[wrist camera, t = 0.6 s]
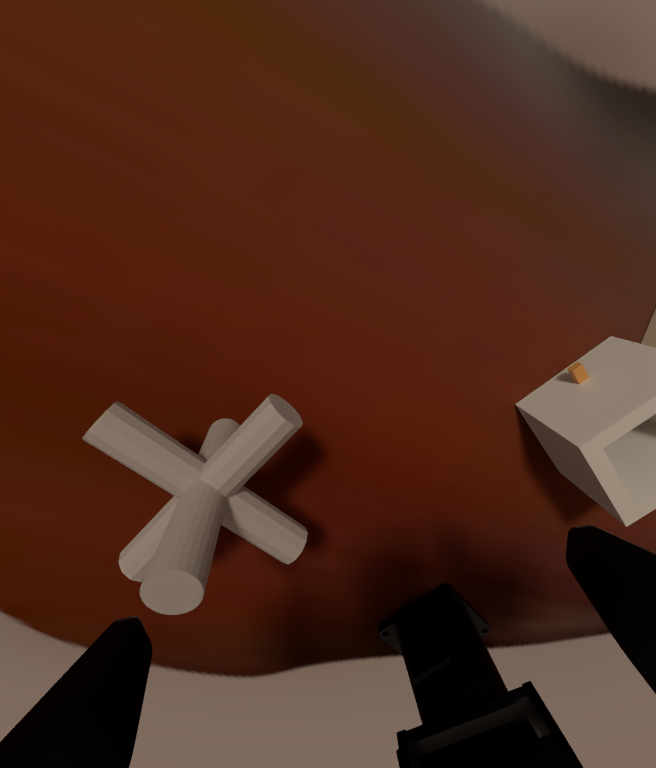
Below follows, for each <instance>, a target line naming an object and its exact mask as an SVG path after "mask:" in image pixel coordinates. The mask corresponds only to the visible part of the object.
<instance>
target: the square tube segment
mask: <svg viewBox="0 0 656 768" xmlns="http://www.w3.org/2000/svg"><path fill="white" fill-rule="evenodd" d="M515 405H516V406H517V408H518V409H519V411H520V413H521V414H522V416H523V417H524V419H525V420H526V422H527V423H528V425H529V426H530V428H531V429H532V431H533V433H534V434H535V436H536V437H537V439H538V440H539V442H540V443H541V445H542V446H543V448H544V449H545V451H546V453H547V454H548V456H549V457H550V459H551V460H552V462H553V463H554V465H555V466H556V468H557V469H558V471H559V472H560V473H561V474H562V475H563V476H565V477H566V478H567V479H568V480H570V481H571V482H572V483H573V484H574V485H576V486H577V487H578V488H579V489H581V490H582V491H583V492H584V493H586V494H587V495H588V496H589V497H590V498H592V499H593V500H594V501H595V502H597V503H598V504H599V505H600V506H601V507H603V508H604V509H605V510H606V511H608V512H609V513H610V514H611V515H612V516H614V517H615V518H616V519H617V520H619V521H620V522H621V523H622V524H623V525H625V526H626V527H627V526H629V525H630V524H632V523H633V522H635V521H637V520H638V519H640V518H641V517H643V516H645V515H646V514H648V513H649V512H651V511H653V510H654V509H656V348H654V347H650V346H646V345H642V344H639V343H635V342H631V341H627V340H624V339H620V338H616V337H612V336H610V337H609V338H608V339H606V340H605V341H603V342H602V343H601V344H599V345H598V346H596V347H595V348H594V349H592V350H591V351H589V352H588V353H587V354H585V355H584V356H582V357H581V358H580V359H578V360H577V361H575V362H574V363H573V364H571V365H570V366H568V367H567V368H566V369H564V370H563V371H561V372H560V373H559V374H557V375H556V376H554V377H553V378H552V379H550V380H549V381H547V382H546V383H545V384H543V385H542V386H540V387H539V388H537V389H536V390H535V391H533V392H532V393H530V394H529V395H528V396H526V397H525V398H523V399H522V400H521V401H519V402H518V403H516V404H515Z"/></svg>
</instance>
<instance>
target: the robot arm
mask: <svg viewBox="0 0 656 768" xmlns="http://www.w3.org/2000/svg"><path fill="white" fill-rule="evenodd" d="M566 561H567V564H568V567H569V569H570V571H571V572H572V574H573V575H574V577H575V578H576V580H577V582H578V583H579V585H580V586H581V588H582V589H583V591H584V592H585V594H586V595H587V597H588V599H589V600H590V602H591V603H592V605H593V606H594V608H595V609H596V611H597V612H598V614H599V616H600V617H601V619H602V620H603V622H604V623H605V625H606V626H607V628H608V629H609V631H610V633H611V634H612V636H613V637H614V639H615V640H616V641H617V643H618V644H619V646H620V647H621V649H622V650H623V651H624V653H625V654H626V655H627V657H628V658H629V659H630V661H631V662H632V664H633V665H634V666H635V667H636V669H637V670H638V671H639V673H640V674H641V675H642V676H643V678H644V679H645V681H646V682H647V683H648V684H649V686H650V687H651V688H652V690H653V691H654V692H655V694H656V554H655V553H653V552H650V551H648V550H646V549H644V548H642V547H639V546H637V545H635V544H633V543H631V542H628V541H626V540H624V539H622V538H619V537H617V536H615V535H613V534H611V533H608V532H606V531H604V530H602V529H600V528H597V527H595V526H592V525H583V526H578V527H573V528H571V529H570V530H569V531H568V538H567V549H566ZM490 631H491V629H490V627H489V625H488V623H487V622H486V621H485V620H484V619H483V618H482V617H481V616H480V615H479V614H478V613H477V612H476V610H475V609H474V608H473V607H472V606H471V605H470V604H469V603H468V602H467V601H466V600H465V599H464V598H463V597H462V596H461V595H460V594H459V593H458V592H457V591H456V590H455V589H454V588H453V587H452V586H451V585H450V584H444V585H441V586H440V587H438V588H437V589H435V590H434V591H432V592H431V593H429V594H428V595H426V596H425V597H423V598H422V599H420V600H418V601H417V602H415V603H414V604H412V605H411V606H409V607H408V608H406V609H405V610H403V611H402V612H400V613H398V614H397V615H395V616H394V617H392V618H391V619H389V620H388V621H386V622H385V623H383V624H382V625H380V626H379V627H378V633H379V636H380V638H382V639H383V640H384V641H385V642H386V643H388V644H389V645H390V646H391V647H392V648H394V649H395V650H396V651H397V652H399V653H400V654H401V655H402V656H403V657H404V661H405V664H406V668H407V671H408V675H409V678H410V682H411V686H412V689H413V693H414V696H415V700H416V703H417V707H418V710H419V714H420V717H421V720H422V724H423V725H421V726H418V727H416V728H413V729H410V730H408V731H406V730H402V731H399V732H397V739H398V746H399V749H398V750H397V751H396V753H397V758H398V762H399V767H400V768H583V766H582V765H581V763H580V761H579V760H578V758H577V756H576V755H575V753H574V751H573V750H572V748H571V746H570V745H569V743H568V741H567V740H566V738H565V737H564V735H563V733H562V732H561V730H560V728H559V727H558V725H557V724H556V722H555V720H554V719H553V717H552V715H551V714H550V712H549V710H548V709H547V707H546V706H545V704H544V702H543V701H542V699H541V697H540V696H539V694H538V692H537V691H536V689H535V688H534V686H533V684H532V683H531V681H529V682H526V683H524V684H522V687H519V688H516V689H514V690H511V691H509V692H508V690H507V688H506V686H505V684H504V682H503V680H502V678H501V676H500V674H499V672H498V670H497V668H496V666H495V664H494V662H493V660H492V658H491V656H490V654H489V652H488V650H487V648H486V646H485V644H484V642H483V640H482V637H484V636H485V635H487V634H488V633H490ZM151 658H152V644H151V641H150V639H149V637H148V635H147V633H146V630H145V628H144V626H143V624H142V622H141V620H140V618H138V617H137V616H132V617H128V618H123V619H118V620H116V621H115V622H113V623H112V624H111V625H110V626H109V627H108V628H107V629H106V630H105V631H104V632H103V633H102V634H101V636H100V637H99V638H98V639H97V640H96V641H95V642H94V643H93V644H92V645H91V646H90V647H89V648H88V649H87V650H86V651H85V653H84V654H83V655H82V656H81V657H80V658H79V659H78V660H77V661H76V662H75V663H74V664H73V665H72V666H71V667H70V668H69V670H68V671H67V672H66V673H65V674H64V675H63V676H62V677H61V678H60V679H59V680H58V681H57V682H56V683H55V684H54V685H53V687H52V688H51V689H50V690H49V691H48V692H47V693H46V694H45V695H44V696H43V697H42V698H41V699H40V700H39V702H38V703H37V704H36V705H35V706H34V707H33V708H32V709H31V710H30V711H29V712H28V713H27V714H26V715H25V716H24V717H23V718H22V720H21V721H20V722H19V723H18V724H17V725H16V726H15V727H14V728H13V729H12V730H11V731H10V732H9V733H8V734H7V736H5V738H4V739H3V740H2V741H1V742H0V768H129V765H130V761H131V757H132V754H133V749H134V744H135V740H136V734H137V730H138V725H139V720H140V715H141V709H142V704H143V699H144V694H145V689H146V683H147V678H148V673H149V668H150V663H151Z"/></svg>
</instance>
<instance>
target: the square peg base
mask: <svg viewBox="0 0 656 768" xmlns="http://www.w3.org/2000/svg"><path fill="white" fill-rule="evenodd" d="M641 344H642V345H646V346H650V347H654V348H656V308H655V311H654V313H653V315H652V318H651V320H650V323H649V325H648V328H647V330H646V332H645V335H644V337H643V340H642V342H641Z"/></svg>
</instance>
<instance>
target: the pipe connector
mask: <svg viewBox="0 0 656 768" xmlns="http://www.w3.org/2000/svg"><path fill="white" fill-rule="evenodd" d="M302 424H303V423H302V420H301V417H300V416H299V414H298V413H297V412H296V411H295V409H294V408H293V407H292V406H291V405H290V404H289V403H288V402H286V401H285V400H284V399H282V398H281V397H279V396H277V395H274V394H271V395H269V396H268V397H267V398H266V399H265V400H264V402H263V403H262V404H261V405H260V406H259V407H258V408H257V409H256V410H255V411H254V412H253V413H252V414H251V415H250V416H249V417H248V418H247V419H246V421H245V422H244V423H243V424H242V425H241V426H240V425H239V424H238V423H237V422H235V421H234V420H231V419H219V420H217V421H215V422H214V423H213V424H212V425H211V427H210V429H209V431H208V434H207V436H206V438H205V441H204V443H203V445H202V447H201V450H200V452H199V454H198V455H197V454H196V453H194V452H193V451H191V450H190V449H188V448H187V447H185V446H184V445H182V444H181V443H179V442H178V441H176V440H175V439H173V438H172V437H170V436H169V435H167V434H166V433H164V432H163V431H162V430H160V429H159V428H157V427H156V426H154V425H153V424H151V423H150V422H148V421H147V420H145V419H144V418H142V417H141V416H139V415H138V414H136V413H135V412H133V411H132V410H130V409H129V408H127V407H126V406H124V405H123V404H121V403H120V402H118V401H116V402H115V403H114V404H113V405H112V406H111V407H110V408H108V409H107V410H106V411H105V412H104V414H103V415H102V416H101V417H100V418H99V419H98V420H97V421H96V422H95V423H94V424H93V426H92V427H91V428H90V429H89V430H88V431H87V433H86V434H85V435H84V437H83V440H85V441H86V442H88V443H89V444H91V445H93V446H94V447H96V448H98V449H99V450H101V451H102V452H104V453H106V454H107V455H109V456H111V457H112V458H114V459H115V460H117V461H119V462H120V463H122V464H124V465H125V466H127V467H128V468H130V469H132V470H133V471H135V472H137V473H138V474H140V475H141V476H143V477H145V478H146V479H148V480H150V481H151V482H153V483H154V484H156V485H158V486H159V487H161V488H163V489H164V490H166V491H167V492H169V493H171V494H172V495H174V497H173V498H172V499H171V500H170V501H169V502H168V503H167V504H166V505H165V506H164V507H163V508H162V509H161V511H160V512H159V513H158V514H157V515H156V516H155V517H154V518H153V519H152V520H151V521H150V522H149V523H148V524H147V525H146V526H145V527H144V528H143V530H142V531H141V532H140V533H139V534H138V535H137V536H136V537H135V538H134V539H133V540H132V541H131V542H130V543H129V544H128V545H127V546H126V548H125V549H124V550H123V551H122V552H121V553H120V558H119V565H120V568H121V571H122V573H123V574H125V575H126V576H127V577H128V578H129V579H130V580H134V581H139V582H142V581H143V582H142V584H141V588H140V597H141V599H142V601H143V602H144V603H145V605H146V606H147V607H149V608H150V609H152V610H153V611H156V612H159V613H161V614H168V615H178V614H183V613H186V612H189V611H191V610H193V609H194V608H195V607H197V606H198V605H199V604H200V602H201V601H202V598H203V596H204V592H205V588H206V583H207V579H208V575H209V571H210V567H211V563H212V559H213V555H214V551H215V547H216V542H217V538H218V534H219V530H220V526H221V525H223V526H224V527H226V528H227V529H229V530H231V531H232V532H234V533H236V534H237V535H239V536H240V537H242V538H244V539H245V540H247V541H249V542H250V543H252V544H253V545H255V546H257V547H258V548H260V549H262V550H263V551H265V552H266V553H268V554H270V555H271V556H273V557H275V558H276V559H278V560H279V561H281V562H283V563H285V564H290V563H292V562H293V561H295V560H296V559H297V557H298V556H299V555H300V554H301V552H302V550H303V548H304V546H305V544H306V541H307V534H308V532H307V530H306V527H304V526H303V525H301V524H300V523H298V522H297V521H295V520H294V519H292V518H291V517H289V516H288V515H286V514H285V513H283V512H282V511H280V510H279V509H277V508H276V507H274V506H273V505H271V504H270V503H268V502H267V501H265V500H264V499H262V498H261V497H259V496H258V495H257V494H255V493H254V492H252V491H251V490H249V489H248V488H246V487H245V486H243V485H244V484H245V483H246V482H247V481H248V480H249V479H250V478H251V477H252V476H253V475H254V474H255V473H256V472H257V471H258V470H259V469H260V468H261V467H262V466H263V465H264V464H265V463H266V462H267V461H268V460H269V459H270V458H271V457H272V456H273V455H274V454H275V453H276V452H277V451H278V450H279V449H280V447H281V446H282V445H283V444H284V443H285V442H286V441H287V440H288V439H289V438H290V437H291V436H292V435H293V434H294V433H295V432H296V431H297V430H298V429H299V428H300V427H301V426H302Z"/></svg>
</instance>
